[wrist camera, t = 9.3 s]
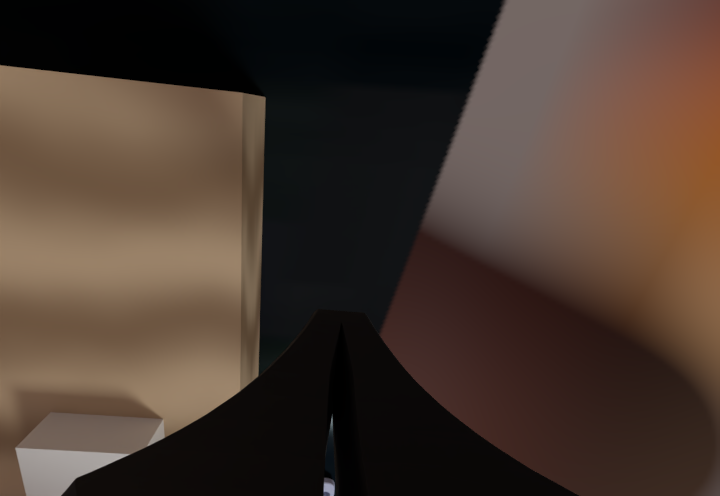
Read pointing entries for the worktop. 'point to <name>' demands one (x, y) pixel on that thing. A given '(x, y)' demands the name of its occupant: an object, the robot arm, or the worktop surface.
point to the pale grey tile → (79, 447)
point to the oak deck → (125, 250)
